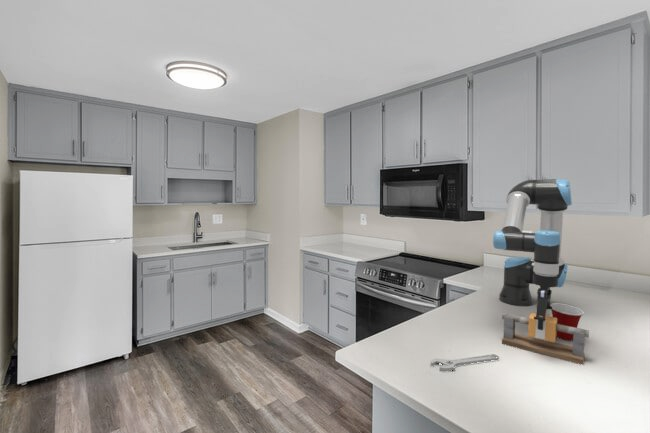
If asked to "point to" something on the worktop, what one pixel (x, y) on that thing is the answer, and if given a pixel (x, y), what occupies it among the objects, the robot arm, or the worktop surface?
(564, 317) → the plastic cup
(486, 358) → the adjustable wrench
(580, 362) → the frame
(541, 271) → the robot arm
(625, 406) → the worktop surface
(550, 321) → the block
